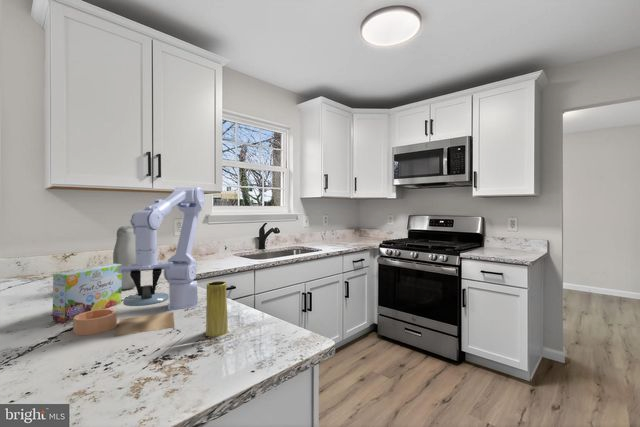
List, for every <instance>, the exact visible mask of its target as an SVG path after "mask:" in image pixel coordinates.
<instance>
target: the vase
mask: <svg viewBox="0 0 640 427" xmlns="http://www.w3.org/2000/svg"><path fill="white" fill-rule="evenodd" d="M205 311H206V313H205V317H206V318H205V323H206V324H205V334H204V335H205V336H207V337H212V338H213V337H222V336H224V335H226V334H227V333H228V332H229V329H228V327H229V326H228V302H227V282H226V281H220V280H219V281H211V282H207V283H206V310H205Z"/></svg>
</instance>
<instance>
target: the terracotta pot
mask: <svg viewBox="0 0 640 427" xmlns="http://www.w3.org/2000/svg"><path fill="white" fill-rule="evenodd" d="M72 321H73V325H72V326H73V328H72V329H73V330H72V331H73V334H74V335H77V336H78V335H79V336H90V335H96V334H97V335H98V334H101V333H104V332H108V331H110V330H113V329H114V328H115V329H116V328H117V326H118V310H117V309H114V308H106V309H98V310H92V311H87V312H83V313H81V314H78V315H76V316H75V317H74V318H73V320H72Z"/></svg>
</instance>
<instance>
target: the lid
mask: <svg viewBox="0 0 640 427" xmlns="http://www.w3.org/2000/svg"><path fill="white" fill-rule="evenodd" d="M152 286H153V284H145V285H141V296H138V294H134V295H131V296H127V297H126V298H124V299H122V300H123V302H122V303H123V305H124V306H127V307H144V306H145V307H146V306H152V305H156V304H160V303H164V302H166V301H167V300H169V293H165V292H155V294H153V295H152Z"/></svg>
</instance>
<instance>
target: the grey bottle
mask: <svg viewBox="0 0 640 427" xmlns="http://www.w3.org/2000/svg"><path fill="white" fill-rule="evenodd" d="M116 230H117V231H116V241H115V243H114V244H115V245H114V248H113V253H112V264H122V265H131V264H136V254H135V235H134V233H133V227H132V226H131V225H125V226H120V227H118V229H116ZM133 288H136V285H135V283H134V281H133V279H132V278H131V276H130V272H122V288H121V290H130V289H133Z"/></svg>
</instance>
